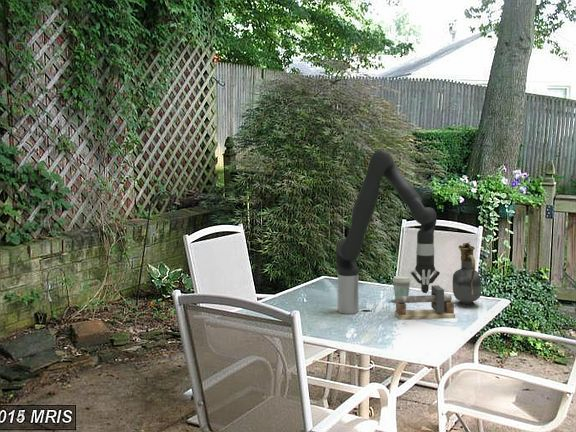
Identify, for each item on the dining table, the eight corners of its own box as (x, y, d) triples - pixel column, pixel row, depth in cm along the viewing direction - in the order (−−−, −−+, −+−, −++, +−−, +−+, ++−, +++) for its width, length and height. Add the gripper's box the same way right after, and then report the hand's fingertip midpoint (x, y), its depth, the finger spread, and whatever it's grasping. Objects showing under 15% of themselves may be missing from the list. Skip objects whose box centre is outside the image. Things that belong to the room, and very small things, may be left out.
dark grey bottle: (473, 300, 295) (473, 238, 292) (485, 310, 276) (486, 244, 273) (450, 300, 295) (450, 239, 293) (461, 310, 277) (461, 244, 274)
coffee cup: (389, 301, 296) (388, 277, 295) (400, 298, 302) (400, 274, 301) (403, 304, 290) (403, 279, 289) (414, 301, 296) (414, 277, 294)
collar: (437, 312, 265) (437, 289, 264) (431, 307, 274) (431, 285, 273) (444, 312, 265) (444, 289, 264) (438, 306, 274) (438, 285, 273)
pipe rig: (400, 319, 264) (400, 298, 263) (395, 313, 274) (394, 293, 273) (455, 317, 265) (455, 297, 264) (448, 312, 275) (448, 292, 274)
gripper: (412, 255, 263) (411, 295, 264) (442, 254, 263) (442, 294, 265) (408, 252, 270) (407, 291, 272) (437, 251, 271) (437, 290, 272)
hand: (424, 292), depth 268 cm, fingers closed
